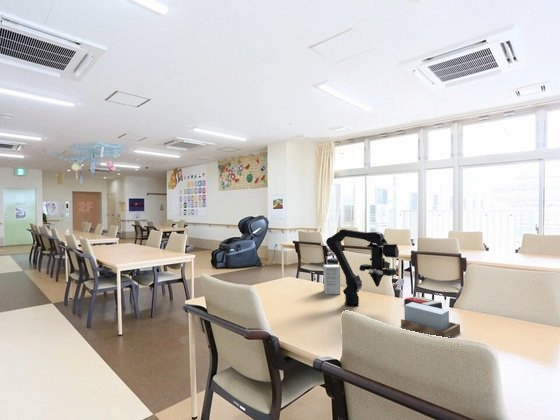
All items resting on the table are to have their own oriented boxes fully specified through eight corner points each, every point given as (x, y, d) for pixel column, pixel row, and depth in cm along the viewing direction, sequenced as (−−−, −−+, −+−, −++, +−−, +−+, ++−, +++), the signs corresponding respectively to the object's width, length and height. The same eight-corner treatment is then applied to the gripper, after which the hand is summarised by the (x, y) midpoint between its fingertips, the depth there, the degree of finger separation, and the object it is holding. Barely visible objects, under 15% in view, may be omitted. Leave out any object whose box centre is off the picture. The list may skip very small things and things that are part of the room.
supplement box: (340, 294, 186) (340, 267, 186) (325, 294, 186) (325, 267, 186) (337, 290, 196) (337, 264, 196) (323, 290, 196) (323, 264, 196)
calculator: (417, 295, 171) (442, 301, 157) (418, 303, 171) (442, 309, 157) (403, 298, 166) (427, 304, 153) (404, 306, 166) (427, 313, 153)
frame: (401, 326, 135) (401, 319, 135) (417, 319, 143) (417, 312, 143) (443, 340, 120) (443, 332, 120) (460, 331, 129) (459, 324, 129)
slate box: (404, 325, 137) (404, 305, 137) (412, 321, 141) (412, 302, 141) (441, 336, 125) (441, 314, 125) (449, 331, 129) (448, 310, 129)
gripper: (402, 256, 155) (402, 287, 155) (371, 252, 170) (371, 280, 170) (389, 259, 148) (389, 291, 148) (358, 254, 163) (359, 283, 163)
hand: (377, 286), depth 158 cm, fingers closed
